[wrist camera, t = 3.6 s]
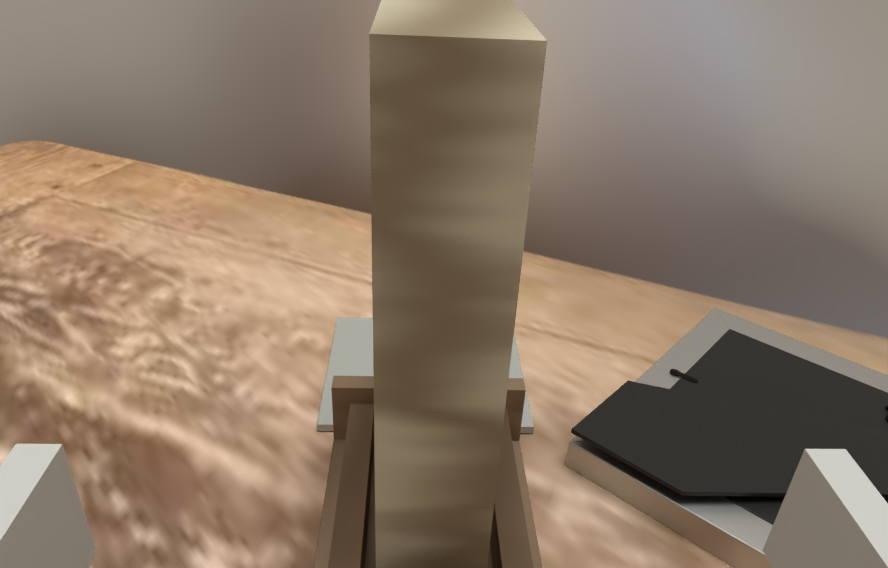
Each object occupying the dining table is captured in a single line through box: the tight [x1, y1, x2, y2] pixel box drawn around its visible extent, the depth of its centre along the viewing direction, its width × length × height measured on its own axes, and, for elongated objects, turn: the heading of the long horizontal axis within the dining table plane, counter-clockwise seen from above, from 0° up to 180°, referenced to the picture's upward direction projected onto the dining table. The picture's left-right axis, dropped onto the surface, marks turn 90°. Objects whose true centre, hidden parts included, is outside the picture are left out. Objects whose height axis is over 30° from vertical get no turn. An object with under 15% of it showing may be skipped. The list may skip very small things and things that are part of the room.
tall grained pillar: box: [369, 0, 547, 568], centre depth 21 cm, size 4×8×18 cm, turn 2°
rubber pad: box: [317, 317, 534, 433], centre depth 35 cm, size 10×9×1 cm
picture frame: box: [565, 308, 888, 568], centre depth 29 cm, size 16×3×21 cm
